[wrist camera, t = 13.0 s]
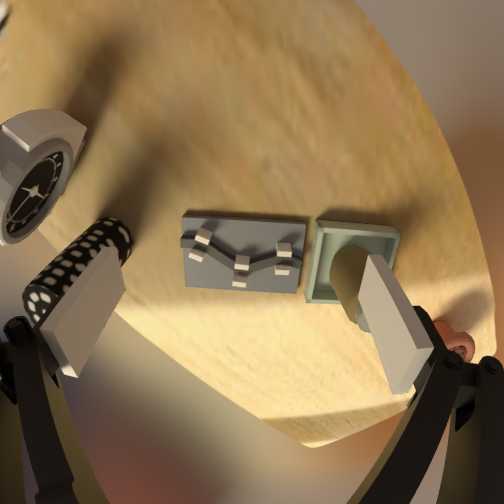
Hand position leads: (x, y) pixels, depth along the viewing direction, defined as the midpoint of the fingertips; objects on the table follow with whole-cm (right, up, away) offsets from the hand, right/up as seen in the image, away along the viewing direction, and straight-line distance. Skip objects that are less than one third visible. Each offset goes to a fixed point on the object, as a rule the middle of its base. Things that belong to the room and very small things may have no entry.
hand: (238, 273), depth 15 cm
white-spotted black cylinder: (-23, +3, +32) cm, 39 cm away
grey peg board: (-1, +1, +32) cm, 32 cm away
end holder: (+16, 0, +32) cm, 36 cm away
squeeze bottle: (+16, 0, +32) cm, 36 cm away
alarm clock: (-30, +16, +25) cm, 42 cm away
